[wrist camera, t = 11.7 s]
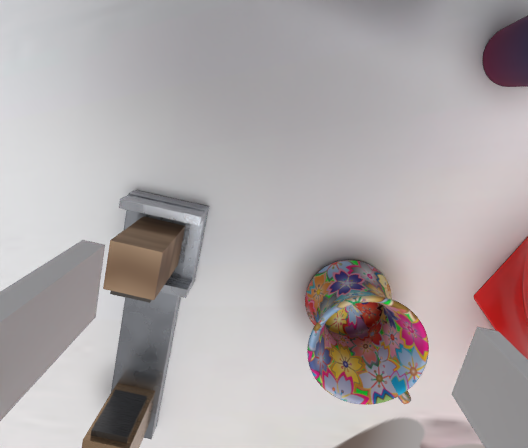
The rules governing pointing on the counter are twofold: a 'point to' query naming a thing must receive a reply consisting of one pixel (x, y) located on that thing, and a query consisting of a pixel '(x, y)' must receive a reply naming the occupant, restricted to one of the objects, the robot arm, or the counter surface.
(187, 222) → the rail
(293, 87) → the counter surface
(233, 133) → the counter surface
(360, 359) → the mug
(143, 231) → the block
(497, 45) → the cup
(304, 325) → the counter surface
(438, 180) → the counter surface
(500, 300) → the vase
